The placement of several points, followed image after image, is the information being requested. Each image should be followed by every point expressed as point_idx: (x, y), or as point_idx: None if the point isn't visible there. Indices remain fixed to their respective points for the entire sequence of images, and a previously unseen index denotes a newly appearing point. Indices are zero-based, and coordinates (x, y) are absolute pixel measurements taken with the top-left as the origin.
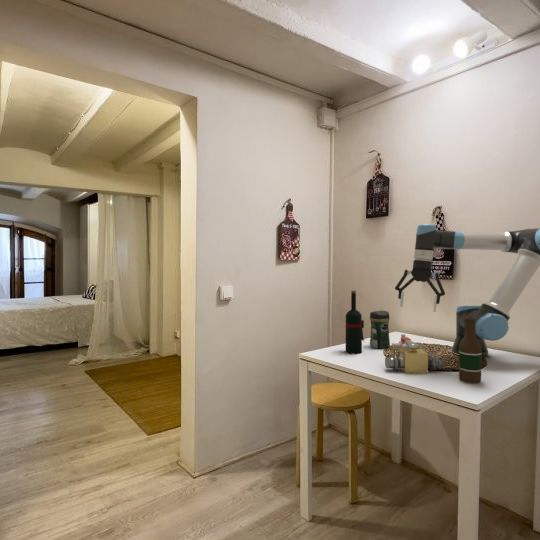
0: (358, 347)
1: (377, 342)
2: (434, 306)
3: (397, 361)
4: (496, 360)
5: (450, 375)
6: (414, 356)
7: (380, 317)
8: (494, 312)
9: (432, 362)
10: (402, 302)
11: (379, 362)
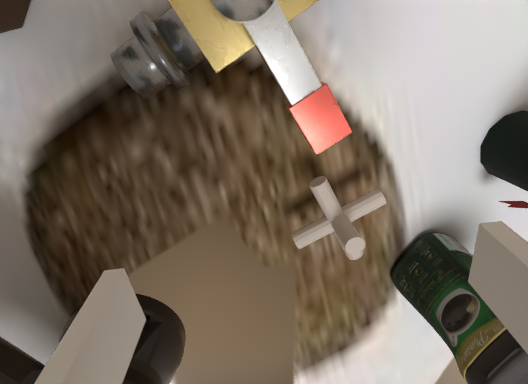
0: (512, 134)
1: (444, 245)
2: (91, 315)
3: None
4: (27, 313)
5: (79, 17)
6: None
7: None
8: None
9: (151, 23)
10: (508, 290)
11: (393, 46)
